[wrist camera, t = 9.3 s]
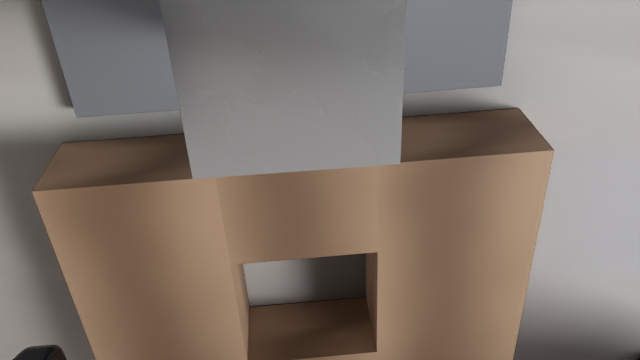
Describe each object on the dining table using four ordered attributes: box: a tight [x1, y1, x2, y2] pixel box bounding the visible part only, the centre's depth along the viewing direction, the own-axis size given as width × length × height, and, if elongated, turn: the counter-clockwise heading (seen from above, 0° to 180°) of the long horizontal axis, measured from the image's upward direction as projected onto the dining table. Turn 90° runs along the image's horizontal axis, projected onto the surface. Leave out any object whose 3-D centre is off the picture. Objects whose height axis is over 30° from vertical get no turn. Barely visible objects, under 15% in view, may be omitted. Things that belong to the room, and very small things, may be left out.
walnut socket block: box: [32, 108, 554, 360], centre depth 22 cm, size 16×12×3 cm
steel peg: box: [159, 0, 407, 179], centre depth 13 cm, size 4×4×8 cm
